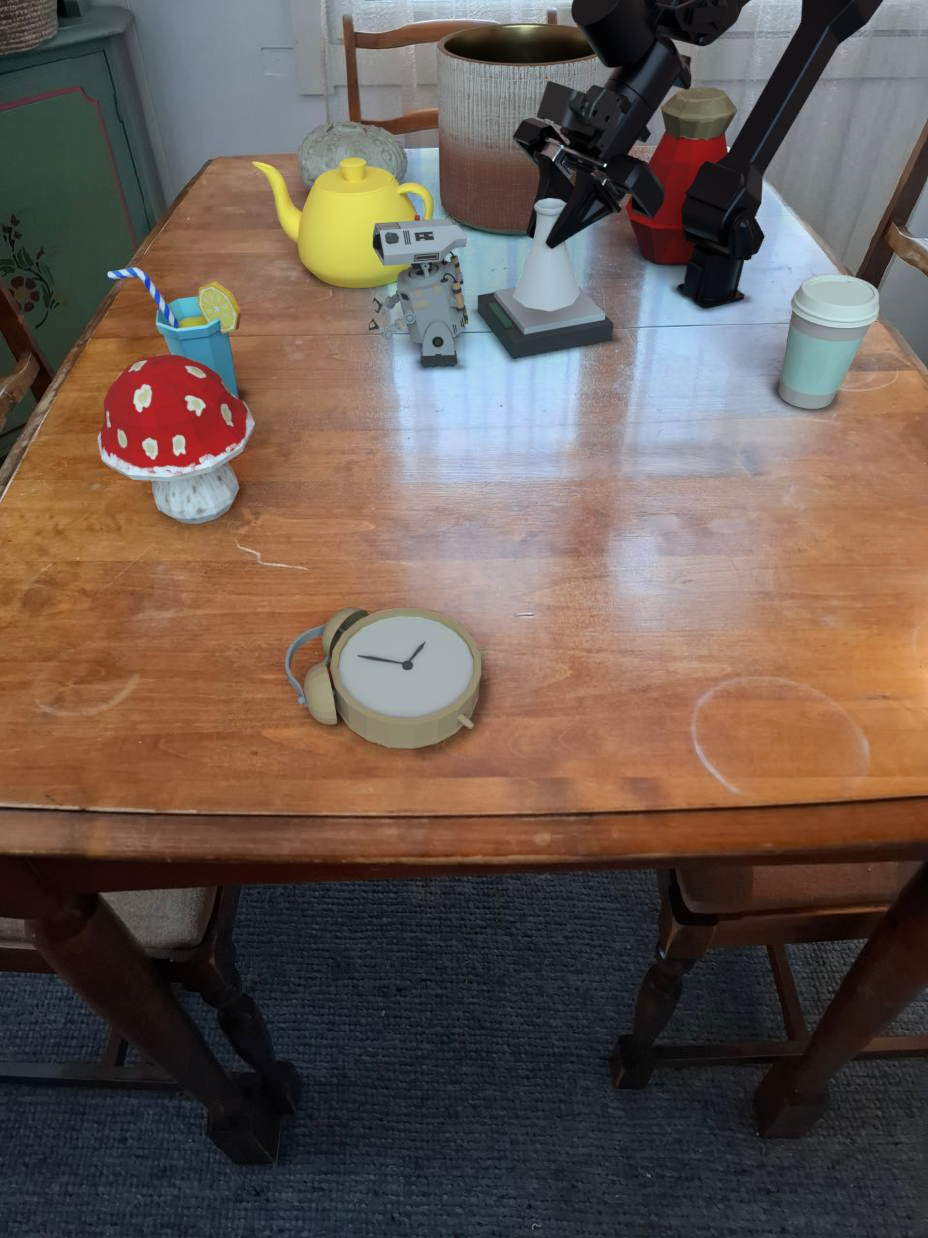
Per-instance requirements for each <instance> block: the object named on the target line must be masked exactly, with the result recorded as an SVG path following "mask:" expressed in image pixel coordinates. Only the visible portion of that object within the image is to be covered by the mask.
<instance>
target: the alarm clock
mask: <svg viewBox="0 0 928 1238" xmlns="http://www.w3.org/2000/svg"><path fill="white" fill-rule="evenodd" d="M319 637H321V647H322V650H323V652H324V654H325V655H326V656H325V657H324V659H323V661H320V662H318V663H315V664H314V665H313V666H311V667H310V668H309V669H308V671H307V672H306V674H305V678H304V682H303V689H302V687H301V684H300V683H299V681H297V680H296V678H294V675H293V674H292V672H291V664H292V661H293V658H294V656H295V654H296V653H297V652H298V650H299V649H300V648H301V647H302V646H303V645H304V644H306V643H307V642H309V641H311V640H312V639H315V638H319ZM487 655H489V650H488V648H479V647H478V646H477V643H476V640H475V639H474V638H473V636H471V634H470V633H469V632H468V631H467V630H466V629H465V628H464V626H462V625H461V624H460V623H458V622H456V621H455V620H453V619H452V618H450V617H448V616H446V615H445V614H442V613H440V612H436V611H432V610H429V609H427V608H426V609H425V608H422V607H406V606H405V607H403V606H399V607H393V608H389V609H388V608H387V609H383V610H378V611H375V612H373V613H371V614H369V612H368V611H367V610H366V609H363V608H361V607H356V606H348V607H345V608H342V609H340V610H338V611H337V612H335V613H334V614H333V615H332V616H331V617H330V618H329V619H327V622H326V623H324V624H322V625H319V626H315V627H313V628H310V629H308V630H305V631H304V632H302V633H301V634H300V635H298V636H296V638H295V639H294V640H293V641H292V642H291V644H290V645H289V647H288V648H287V650H286V654H285V659H284V669H285V674H286V677H287V681H288V682H289V684H290V685H291V687H292V688H293V689H294V690H295V691H296V692H297V694H298V695H299V696H298V697H297V698H296V700H297V703H298V704H300V705H304V707H306V708H307V710H308V711H309V713H310V715H311V716H312V717H313V718H314V719H315V720H316V721H317V722H318V723H320V724H323V725H328V726H332V725H337V724H338V719H337V713H338V714H339V716H340V717H341V719H342V720H343V721H344V723H345V724H346V726H347V727H348V729H350V730H352V731H353V732H354V733H356V734H357V735H359V736H361V737H362V738H363V739H364V740H366V741H368V742H372V743H373V744H377V745H380V746H383V747H387V748H389V749H411V750H415V749H418V748H423V747H428V746H432V745H436V744H439V743H441V742H442V741H444V740H446V739H448V738H450V737H452V736H453V735H455V734H457V733H458V732H459V731H460V730H461V729H462V728H463V726H464V727H466V728H468V729H470V730H472V729H473V728H474V727H475V724H474V723H473V722H472V720H471V718H472V716H473V714H474V711H475V708H476V706H477V703H478V702H479V691H480V682H481V678H482V657H484V656H487ZM328 664H330V667H329V670H330V675H331V680H330V676H329V671H328V667H327V666H328ZM331 682H332V684H331Z"/></svg>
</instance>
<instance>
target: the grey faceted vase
mask: <svg viewBox="0 0 928 1238" xmlns="http://www.w3.org/2000/svg"><path fill="white" fill-rule="evenodd" d="M566 204H567V203H565V202H564V201H562V200H560V199H553V198H547V199H543V200H539V201H538V202H537V203H536V204H535V205H534V209H535V211H537V223H536V230H535V234H534V238H533V239H532V243H531V246H530V249H529V252H528V255H527V258H526V260H525V263H524V266H523V269H522V270H521V273H520V276H519V278H518V281H517V284H516V286H515V287H516V288H515V291H514V294H513V298H515V299H516V300H517V301H518V302H520V303H521V304H522V305H524V306H525V307H528V308H534V309H540V310H545V311H553V310H557V309H560V308H563V307H566V306H570V305H572V304H573V303H574V302H575V300H576V299H577V297H578V296H579V295H580V290H579V287H580V286H579V284H578V281H577V277H576V274H575V271H574V268H573V265H572V262H571V258H570V254H569V250H568V247H567V244H566V241H564V242H562V243H561V244H559V245H558V246H556V247H555V248H553V249H551V248H549V247H548V246H547V245H546V240H547V238H548V236H549V233H550V231H551V229H552V228H553V226H554V224H555V222H556V221H557V219H558V217H559V216H560V214H561V212H562V211H563V209H564V207H565V206H566ZM578 286H579V287H578Z"/></svg>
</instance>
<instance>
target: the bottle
mask: <svg viewBox="0 0 928 1238" xmlns="http://www.w3.org/2000/svg"><path fill="white" fill-rule="evenodd" d="M660 109H661V114H662V119H663V123H664V128H665V131H664V132H663V135H662V136H661V139H660V141H659V142H658V144H657V146H656V148H655V150H654V152H653V153H652V155H651V157H650V159H649V160H648V162H647V163H648V165H649V166H650V168H651V169H652V171H653V172H654V174H655V175H656V176H657V178H658V179H659V181H660V182H661V184H662V185H663V186H664V188H665V196H664V203H663V205H662V206H661V208H660V209H659V211H658V212H657V213H656V215H655V216H654V218H653V219H650V218H648V217H645V216H643V215H641V214H639V213H636V212H634V211H633V209H632V202H631V199H632V197H633V196H632V195H630V196H629V198H628V200H627V202H626V204H625V206H624V208H625V211H626V214H627V217H628V220H629V222H630V225H631V228H632V230H633V233H634V236H635V239H636V242H637V244H638V246H639V250H640V253H641V256H642V258H643V260H646V261H648V262H650V263H652V264H655V265H658V266H667V267H668V266H670V267H673V266H676V267H677V266H687V263H688V260H690V259H691V254H692V248H693V246H697V245H695V244H693V243H690V242H686V241H684V237H683V225H682V214H681V208H682V205H683V202H684V200H685V198H686V196H687V195H686V194H685V192H686V191H687V189H688V188H689V187H690V186H691V184H692V183H693V181H694V179H695V177H696V175H697V173H698V170H699V168H700V166H701V165H702V164H703V163H704V162H705V161H709V162H712V163H716V162H717V161H719V160H720V159H722V158H723V157H724V156H726V155H727V153H728V152H729V150H728V145H727V139H726V138H727V137H726V132H727V130H728V128H730V127H729V126H730V125H731V123H732V121H733V120H734V118H735V116H736V114H737V113H738V112H739V110H738V108H737V107H736V105H735V104H734V102H733V101H732V100H731V98H730V96H728V94H727V93H726V91H724V90H723V89H719V88H717V87H706V86H700V87H690V88H689V89H688V90H686V89H681V90H679V91H677V92H676V93H675V94H673V95H672V96H671V97H670V98H669V99H668V100H666V102H665V103H663V104H661V105H660Z"/></svg>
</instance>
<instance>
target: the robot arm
mask: <svg viewBox="0 0 928 1238" xmlns="http://www.w3.org/2000/svg"><path fill="white" fill-rule="evenodd" d="M750 2H752V0H572V4H571V8H570V14H571V18H572V20H573V22H574V24H575V26H576V27H578V28H579V29H580V31H581V32H582V34H583V35H584V37H585V38H586V40H587V41H588V43H589V44H590V46H591V47H592V49H593V50H594V52H595V53H596V55H597V57H598V58H599V60H600V61H601V63H602V64H603V65H604V66H606V67H608V68H612V69H613V70H612V74H611V76H610V77H609V79H608V80H607V82H606V83H605V85H604V87H599V86H596V85H592V86H591V88H590V89H589V90H588V91H587V93H586V94H585V93H583V92H580V91H577V90H575V89H572V88H569V87H566V86H563V85H560V84H557V83H554V82H551V81H548V82H547V85H546V88H545V91H544V94H543V97H542V100H541V103H540V107H539V110H538V113H537V116H536V117H538V118H540V119H543V120H544V119H549V120H551V121H553V122H554V123H555V124H556V125H559V126H561V128H560V130H559V131H560V132H561V133H562V135H563V136H564V137H565V138H567V139H568V140H569V141H570V143H569V145H567V144H566V143H565V141H564V140H563V139H562V138H561V136H560V135H559V134H558V133H557V131H556V130H555V129H554V128H553V126H552V125H550V124H547V123H545V122H542V121H540V120H537V119H534V118H529V119H525V120H522V122H521V123H520V125H519V127H518V128H517V130H516V132H515V133H514V135H513V140H514V141H515V142H516V143H517V144H518V145H519V146H520V148H521V149H522V150H523V151H524V152H525V153H526V154H527V156H528V157H529V158H530V159H531V160H532V161H533V162H534V164H535V165H536V166H537V167H538V168H539V184H538V189H537V194H536V198H535V201H534V205H535V204H536V203H537V202H538V201H539V200H543V199H547V198H553V199H560V200H562V201H564V202H565V203H567V204H566V206H565V207H564V209H563V211H562V212H561V214H560V216H559V217H558V219H557V221H556V222H555V224H554V226H553V228H552V229H551V231H550V233H549V236H548V238H547V240H546V245H547V246H548V247H549V248H551V249H553V248H555V247H556V246H558V245H559V244H561V243H562V242H564V241H565V242H566V241H567V240H569V239H571V238H572V237H573V236H575V235H576V234H578V233H580V232H581V231H583V230H585V229H586V228H587V227H589V226H591V225H593V224H595V223H596V222H598V221H600V220H602V219H604V218H606V217H608V216H609V215H611V214H613V213H614V214H618V215H619V214H620V213H621V212H622V211H623V208H622V207H621V206H620V204H621V203H622V201H623V199H624V198H625V197H626V195H627V194H628V195H630V196H631V195H632V196H633V197H632V199H631V202H632V209H633V211H634V212H636V213H639V214H641V215H643V216H645V217H648V218H650V219H653V218H654V216H655V215H656V213H657V212H658V211H659V209H660V208H661V206H662V205H663V203H664V196H665V188H664V186H663V185H662V184H661V182H660V181H659V179H658V178H657V176H656V175H655V174H654V172H653V171H652V169H651V168H650V166H649V165H648V163H649V162H647V161H646V160H643V159H640V158H637V157H635V156H633V155H630V154H629V153H630V152H631V150H632V148H633V147H634V146H635V144H636V142H637V141H638V142H641V143H644V144H646V143H647V141H648V140H649V138H650V137H651V135H652V133H651V131H650V130H649V128H648V126H647V125H649V123H650V121H651V120H652V118H653V117H654V115H655V113H656V112H657V110H658V109H659V107H661V105H662V103H663V101H664V100H665V98H666V96H667V95H668V94H669V92H670V90H671V89H672V87H675V88H680V89H681V90H683V89H686V90H688V89H689V88H692V78H693V77H692V72H691V63H692V56H690V55H685V54H682V53H680V52H679V50H678V47H677V46H676V44H675V43H674V41H677V42H682V43H686V44H690V45H693V46H698V47H707V46H709V45H711V44H713V43H714V42H715V41H716V40H718V39H719V38H720V37H721V36H722V35H723V34H725V33H726V32H727V31H728V30H729V29H730V28H731V27H733V26H734V25H735V24H736V23H737V21H738V20H739V17H740V15H741V12H742V9H743V8H744V7H745V6H746V5H747V4H748V3H750ZM883 2H884V0H801V9H800V22H799V24H798V26H797V29H796V30H795V32H794V34H793V35H792V38H791V39H790V41H789V43H788V45H787V46H786V48H785V50H784V52H783V53H782V55H781V57H780V59H779V60H778V62H777V64H776V66H775V67H774V70H773V71H772V73H771V75H770V77H769V79H768V81H767V82H766V84H765V86H764V88H763V90H762V91H761V93H760V95H759V96H758V98H757V100H756V102H755V104H754V106H753V107H752V109H751V111H750V112H749V115H748V117H747V118H746V120H745V122H744V124H743V125H742V127H741V129H740V131H739V132H738V134H737V136H736V138H735V140H734V142H733V143H732V144H731V146H730V148H729V150H728V153H727V155H726V156H724V157H723V158H722V159H720V160H719V161H717V162H716V163H712V162H709V161H705V162H704V163H703V164H702V165H701V166H700V168H699V170H698V173H697V175H696V177H695V179H694V181H693V183H692V184H691V186H690V187H689V188H688V189H687V191H686V192H685V194H686V195H687V196H686V198H685V200H684V202H683V205H682V208H681V214H682V225H683V237H684V241H686V242H690V243H693V244H695V245H697V246H693V248H692V254H691V259H690V260H688V263H687V265H686V267H685V268H686V269H685V274H684V279H683V283H679V284H678V285H677V291H679V292H680V293H682V294H683V295H684V296H686V297H687V298H688V299H690V300H692V301H693V302H694V303H696V304H697V305H698V306H700V307H701V308H703V309H708V308H713V307H717V306H721V305H724V304H729V303H733V302H738V301H741V300H744V299H745V296H746V295H745V293H743V292H741V291H740V290H739V286H740V285H739V284H740V281H741V277H742V272H743V269H744V264H745V261H750V260H752V257H753V256H755V255H757V254H758V253H759V251H760V248H761V247H762V244H763V243H764V241H765V240H764V239H765V237H766V235H765V233H764V231H763V230H762V228H761V226H760V224H759V222H758V221H757V219H756V216H757V214H758V211H759V209H760V207H761V206H762V200H763V184H764V183H763V182H764V175H765V173H766V171H767V169H768V167H769V166H770V164H771V163H772V161H773V159H774V157H775V155H776V154H777V152H778V150H779V148H780V147H781V145H782V143H783V142H784V140H785V138H786V136H787V134H788V133H789V131H790V130H791V128H792V126H793V124H794V122H795V121H796V120H797V117H798V116H799V114H800V112H801V110H802V109H803V107H804V105H805V104H806V102H807V100H808V98H809V97H810V95H811V93H812V92H813V90H814V88H815V86H816V85H817V83H818V81H819V80H820V78H821V77H822V75H823V73H824V71H825V69H826V68H827V66H828V64H829V63H830V61H831V60H832V58H833V56H834V54H835V52H836V50H837V49H838V48H839V46H840V45H841V44H842V43H844V42H845V41H846V40H847V39H848V38H850V37H851V36H853V35H854V34H855V33H857V32H858V31H859V30H861V29H862V28H863V27H865V26H866V25H867V24H868V23H869V22H870V21H871V19H872V18H873V16H874V15H875V13H876V12H877V11H878V9H879V7H880V6H881V5H882V3H883ZM673 40H674V41H673ZM578 160H580V161H582V163H581V162H578ZM573 171H576V178H575V186H574V185H573V184H572V183H571V182H570V179H571V177H572V176H573V175H572V173H573ZM534 205H533V209H532V213H531V216H530V220H529V224H528V227H527V231H526V233H527V236H528V237H529V238H530V239H532V240H533V239H534V234H535V230H536V223H537V211H535V209H534Z"/></svg>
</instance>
